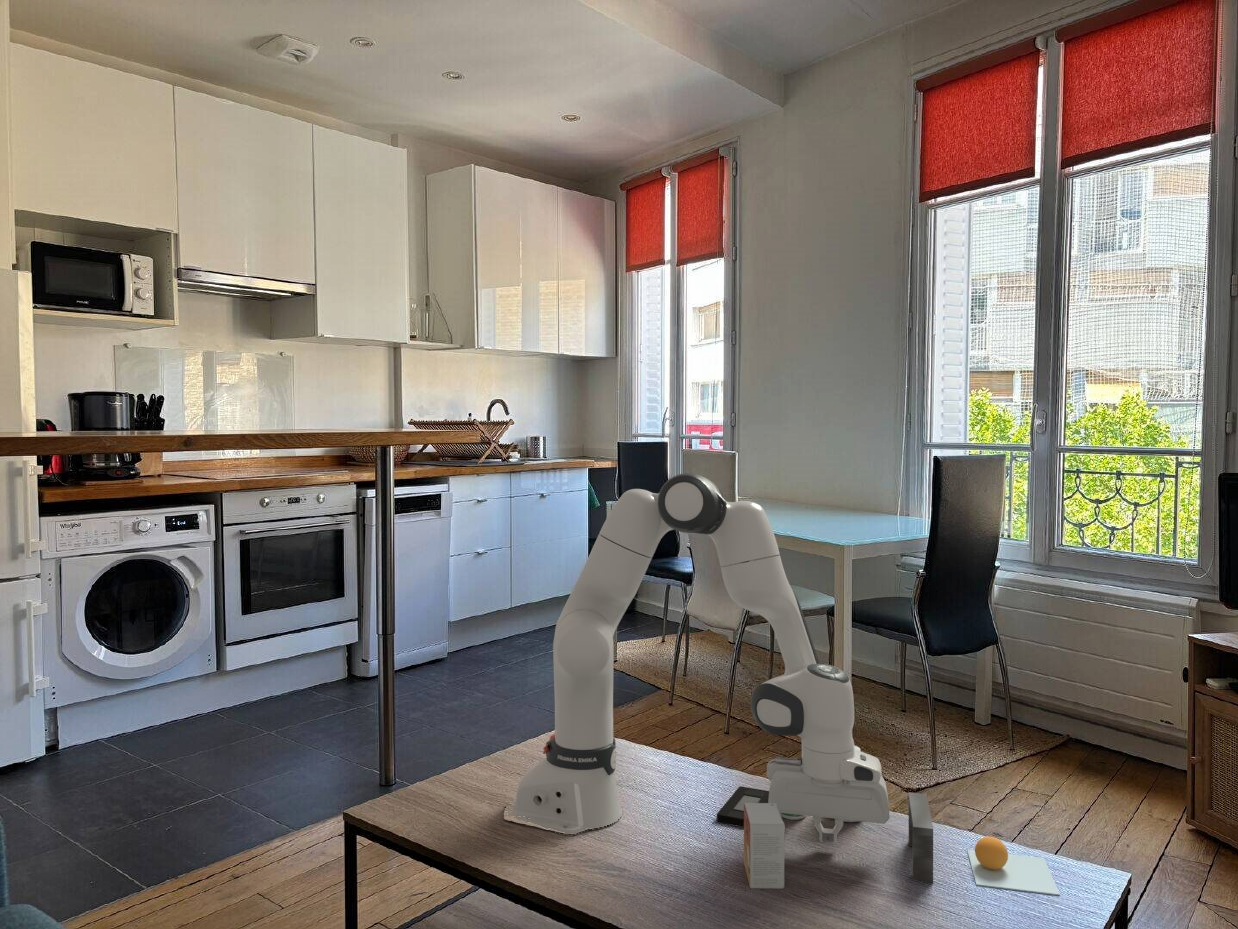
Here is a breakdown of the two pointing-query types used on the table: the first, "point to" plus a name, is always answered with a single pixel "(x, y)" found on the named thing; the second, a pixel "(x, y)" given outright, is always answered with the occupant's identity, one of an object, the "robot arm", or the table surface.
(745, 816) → the small box
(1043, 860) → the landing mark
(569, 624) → the robot arm
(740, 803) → the vhs tape
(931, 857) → the bridge
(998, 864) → the ball
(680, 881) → the table surface
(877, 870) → the table surface
